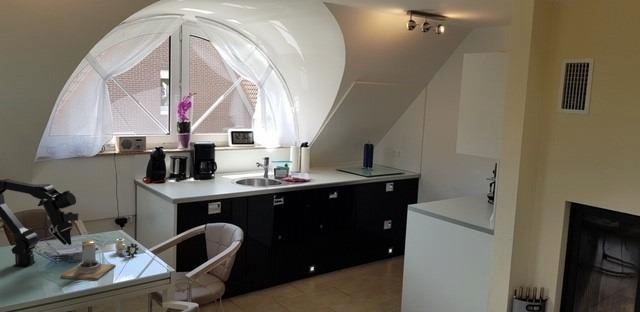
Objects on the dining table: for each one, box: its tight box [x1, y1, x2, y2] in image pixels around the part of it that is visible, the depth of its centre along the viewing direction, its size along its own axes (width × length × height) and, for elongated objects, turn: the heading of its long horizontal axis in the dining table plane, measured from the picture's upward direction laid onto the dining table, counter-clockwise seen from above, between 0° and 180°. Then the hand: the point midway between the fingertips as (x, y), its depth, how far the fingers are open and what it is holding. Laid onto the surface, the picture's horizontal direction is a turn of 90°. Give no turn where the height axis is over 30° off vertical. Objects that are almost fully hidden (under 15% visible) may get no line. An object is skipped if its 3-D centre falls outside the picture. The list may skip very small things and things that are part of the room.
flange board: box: [60, 260, 117, 281], centre depth 220 cm, size 16×16×4 cm
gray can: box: [81, 239, 96, 267], centre depth 219 cm, size 5×5×12 cm
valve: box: [115, 238, 139, 258], centre depth 244 cm, size 7×7×12 cm
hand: (67, 244), depth 223 cm, fingers open, 9 cm apart
